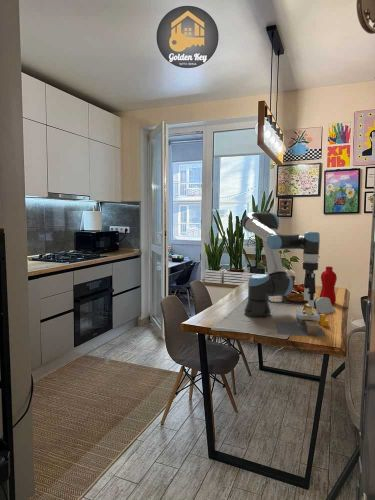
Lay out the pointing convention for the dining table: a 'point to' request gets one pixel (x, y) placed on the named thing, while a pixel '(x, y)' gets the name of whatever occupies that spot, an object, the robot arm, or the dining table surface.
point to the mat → (293, 329)
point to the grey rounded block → (323, 305)
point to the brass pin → (308, 309)
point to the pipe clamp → (322, 319)
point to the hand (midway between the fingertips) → (308, 303)
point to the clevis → (308, 322)
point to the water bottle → (328, 284)
